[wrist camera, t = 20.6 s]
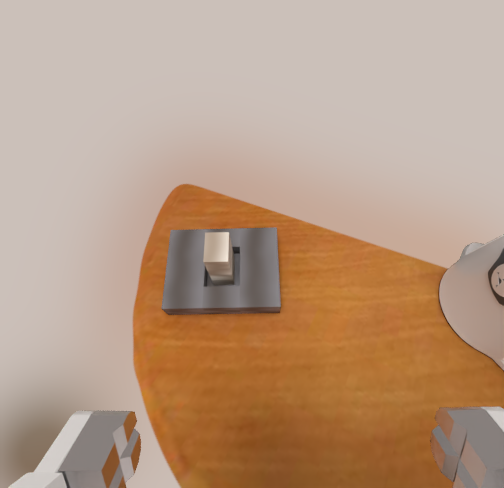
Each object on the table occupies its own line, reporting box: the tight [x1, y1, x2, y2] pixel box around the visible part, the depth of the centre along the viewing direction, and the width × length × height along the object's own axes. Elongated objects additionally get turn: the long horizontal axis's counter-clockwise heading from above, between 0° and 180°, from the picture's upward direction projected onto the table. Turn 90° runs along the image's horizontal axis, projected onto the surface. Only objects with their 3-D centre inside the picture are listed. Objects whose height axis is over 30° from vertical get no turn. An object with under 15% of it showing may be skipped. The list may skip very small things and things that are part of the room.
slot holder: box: [162, 228, 281, 315], centre depth 45 cm, size 16×12×4 cm
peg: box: [203, 232, 235, 285], centre depth 42 cm, size 3×4×9 cm
